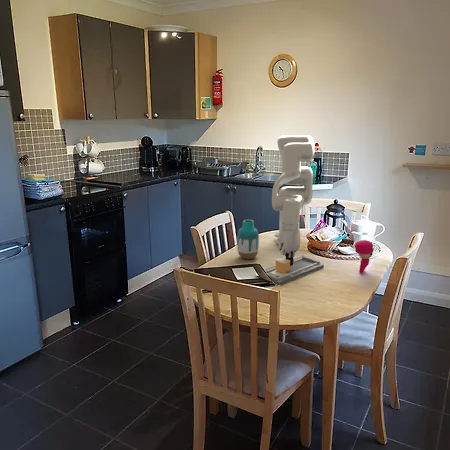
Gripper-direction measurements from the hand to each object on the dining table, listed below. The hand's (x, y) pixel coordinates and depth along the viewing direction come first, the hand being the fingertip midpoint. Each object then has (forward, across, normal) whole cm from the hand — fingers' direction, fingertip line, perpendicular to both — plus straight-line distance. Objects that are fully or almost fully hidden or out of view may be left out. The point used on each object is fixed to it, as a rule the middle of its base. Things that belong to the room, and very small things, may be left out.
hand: (289, 264), depth 195 cm
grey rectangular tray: (+4, -1, 0) cm, 4 cm away
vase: (+4, +1, -26) cm, 26 cm away
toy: (+4, -25, +22) cm, 34 cm away
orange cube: (+2, +4, 0) cm, 5 cm away
